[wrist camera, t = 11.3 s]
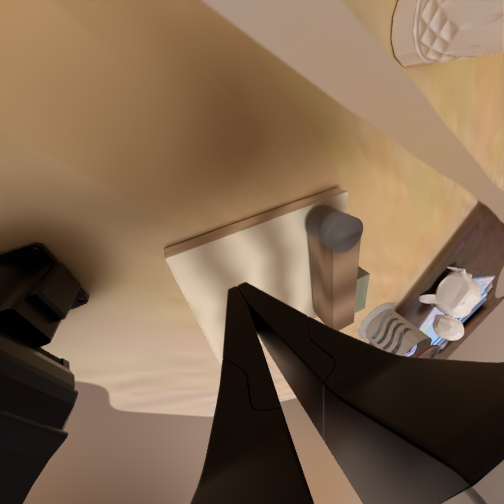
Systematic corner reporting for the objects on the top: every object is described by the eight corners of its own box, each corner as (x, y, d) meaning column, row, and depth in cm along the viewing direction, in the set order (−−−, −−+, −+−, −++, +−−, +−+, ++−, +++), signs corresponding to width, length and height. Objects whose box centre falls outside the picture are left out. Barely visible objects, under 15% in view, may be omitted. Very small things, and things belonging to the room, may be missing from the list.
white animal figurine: (427, 262, 48) (410, 327, 47) (481, 269, 41) (462, 345, 40) (439, 271, 52) (424, 330, 51) (490, 278, 45) (473, 347, 44)
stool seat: (216, 352, 30) (228, 394, 25) (163, 248, 20) (166, 285, 16) (333, 295, 35) (362, 322, 30) (335, 187, 25) (380, 200, 20)
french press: (401, 307, 46) (592, 442, 26) (367, 345, 49) (516, 495, 29) (381, 298, 41) (601, 458, 21) (345, 341, 44) (507, 521, 24)
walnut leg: (304, 212, 22) (331, 226, 18) (334, 200, 22) (364, 212, 19) (313, 312, 30) (332, 334, 27) (333, 301, 31) (354, 321, 28)
